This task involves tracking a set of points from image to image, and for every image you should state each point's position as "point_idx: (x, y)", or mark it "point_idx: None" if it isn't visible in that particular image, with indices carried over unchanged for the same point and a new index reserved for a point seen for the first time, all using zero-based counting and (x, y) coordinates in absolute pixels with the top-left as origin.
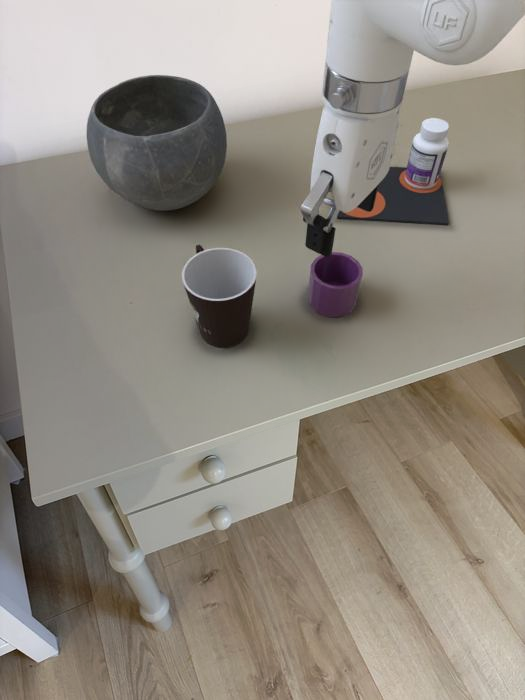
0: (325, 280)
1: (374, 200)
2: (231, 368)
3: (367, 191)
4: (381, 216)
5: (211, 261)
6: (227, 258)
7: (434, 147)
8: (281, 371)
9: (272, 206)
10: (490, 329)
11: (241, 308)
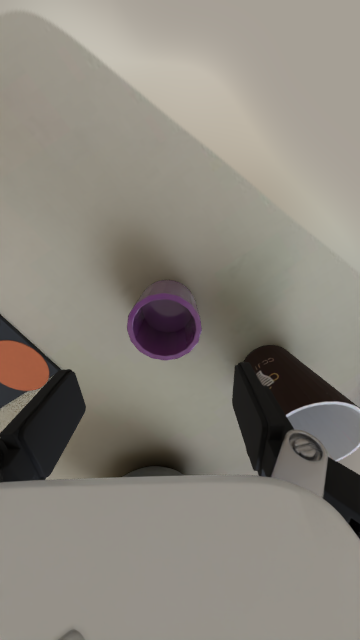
0: (154, 329)
1: (47, 387)
2: (307, 333)
3: (148, 527)
4: (13, 336)
5: None
6: None
7: None
8: (289, 293)
9: (101, 420)
10: (51, 69)
11: (318, 381)
